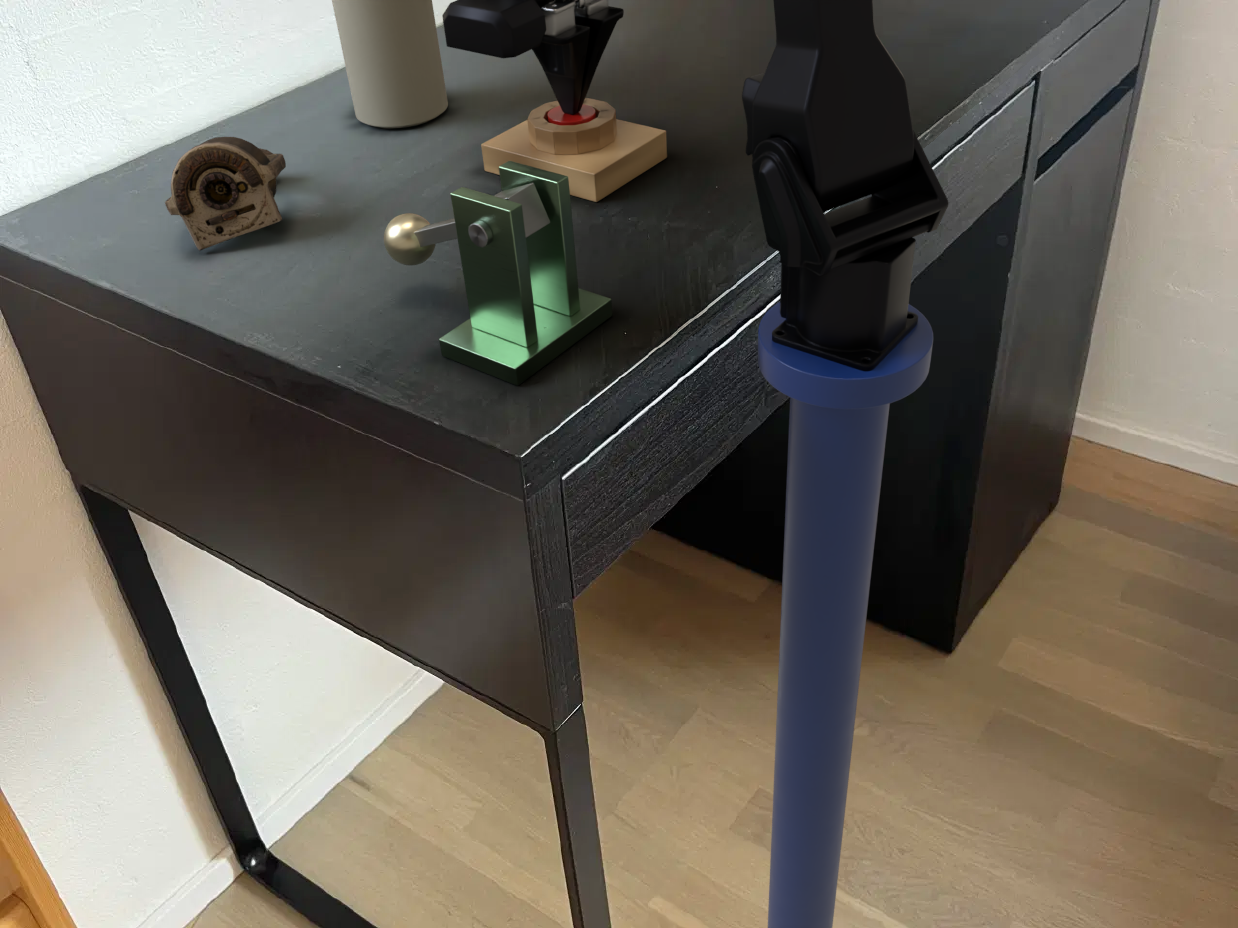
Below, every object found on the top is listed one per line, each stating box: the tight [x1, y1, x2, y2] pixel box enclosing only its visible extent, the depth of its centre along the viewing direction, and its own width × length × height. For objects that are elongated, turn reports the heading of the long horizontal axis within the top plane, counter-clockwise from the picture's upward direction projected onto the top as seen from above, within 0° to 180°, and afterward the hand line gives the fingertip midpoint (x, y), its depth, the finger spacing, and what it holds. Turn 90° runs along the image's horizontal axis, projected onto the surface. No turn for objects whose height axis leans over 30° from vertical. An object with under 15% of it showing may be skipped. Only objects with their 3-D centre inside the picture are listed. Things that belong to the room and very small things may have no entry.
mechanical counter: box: [164, 136, 287, 251], centre depth 82 cm, size 7×13×10 cm
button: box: [548, 104, 596, 125], centre depth 86 cm, size 4×4×2 cm
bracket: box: [438, 161, 613, 387], centre depth 66 cm, size 6×9×10 cm, turn 143°
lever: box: [383, 183, 550, 266], centre depth 68 cm, size 13×3×3 cm, turn 53°
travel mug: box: [331, 0, 449, 129], centre depth 93 cm, size 8×8×18 cm
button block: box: [480, 97, 668, 203], centre depth 87 cm, size 11×9×4 cm
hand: (571, 112), depth 86 cm, fingers closed, pressing on button
